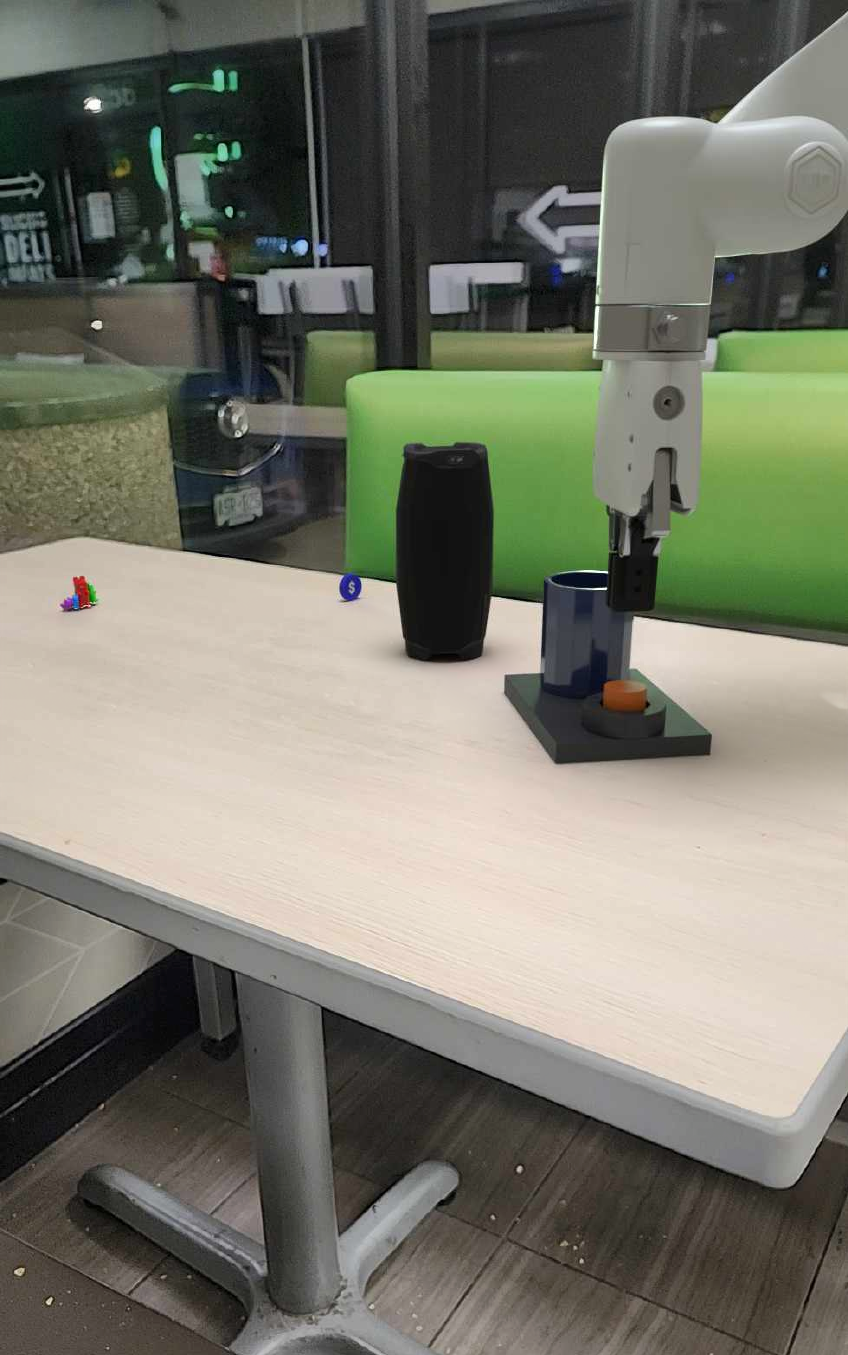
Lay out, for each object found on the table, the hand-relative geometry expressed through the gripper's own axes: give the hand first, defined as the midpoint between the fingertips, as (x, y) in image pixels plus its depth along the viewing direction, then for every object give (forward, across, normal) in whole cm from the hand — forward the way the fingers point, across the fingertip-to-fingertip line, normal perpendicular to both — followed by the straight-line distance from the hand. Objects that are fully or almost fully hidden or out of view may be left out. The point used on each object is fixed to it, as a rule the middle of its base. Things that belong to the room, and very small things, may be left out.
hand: (629, 608), depth 84 cm
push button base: (+11, +6, 0) cm, 12 cm away
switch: (+8, 0, 0) cm, 8 cm away
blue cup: (+9, +10, 0) cm, 14 cm away
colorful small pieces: (+11, +55, +47) cm, 73 cm away
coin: (+11, +54, +16) cm, 57 cm away
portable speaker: (+11, +29, +9) cm, 32 cm away
